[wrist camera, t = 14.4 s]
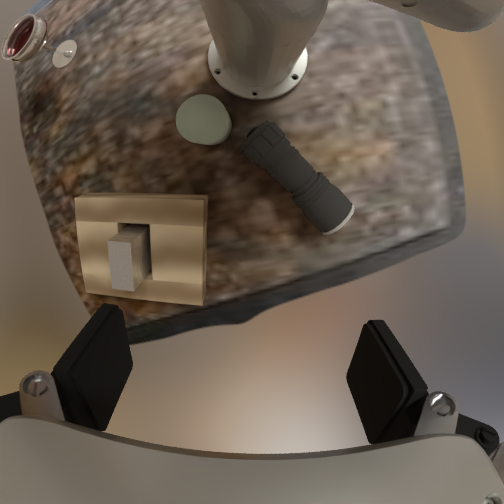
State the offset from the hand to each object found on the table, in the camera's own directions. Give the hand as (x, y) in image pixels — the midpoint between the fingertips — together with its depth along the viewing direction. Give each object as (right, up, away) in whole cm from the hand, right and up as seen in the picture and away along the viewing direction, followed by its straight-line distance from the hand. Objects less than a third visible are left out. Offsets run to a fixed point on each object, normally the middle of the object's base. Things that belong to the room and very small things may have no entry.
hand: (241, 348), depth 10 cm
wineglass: (-28, +34, +18) cm, 48 cm away
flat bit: (-15, +5, +28) cm, 32 cm away
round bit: (-5, +19, +23) cm, 30 cm away
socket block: (-15, +5, +28) cm, 32 cm away
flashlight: (+6, +14, +26) cm, 30 cm away
